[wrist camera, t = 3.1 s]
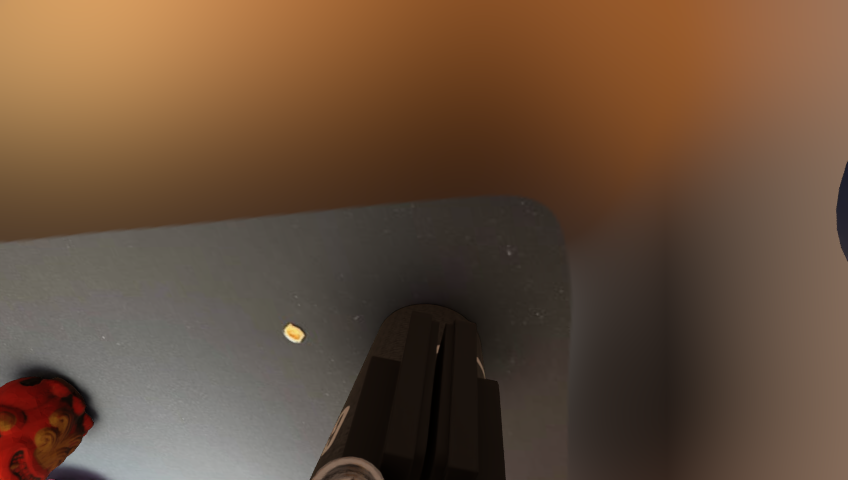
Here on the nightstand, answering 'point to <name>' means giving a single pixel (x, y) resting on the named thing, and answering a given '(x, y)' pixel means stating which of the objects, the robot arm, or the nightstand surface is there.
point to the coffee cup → (390, 347)
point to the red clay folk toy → (39, 426)
